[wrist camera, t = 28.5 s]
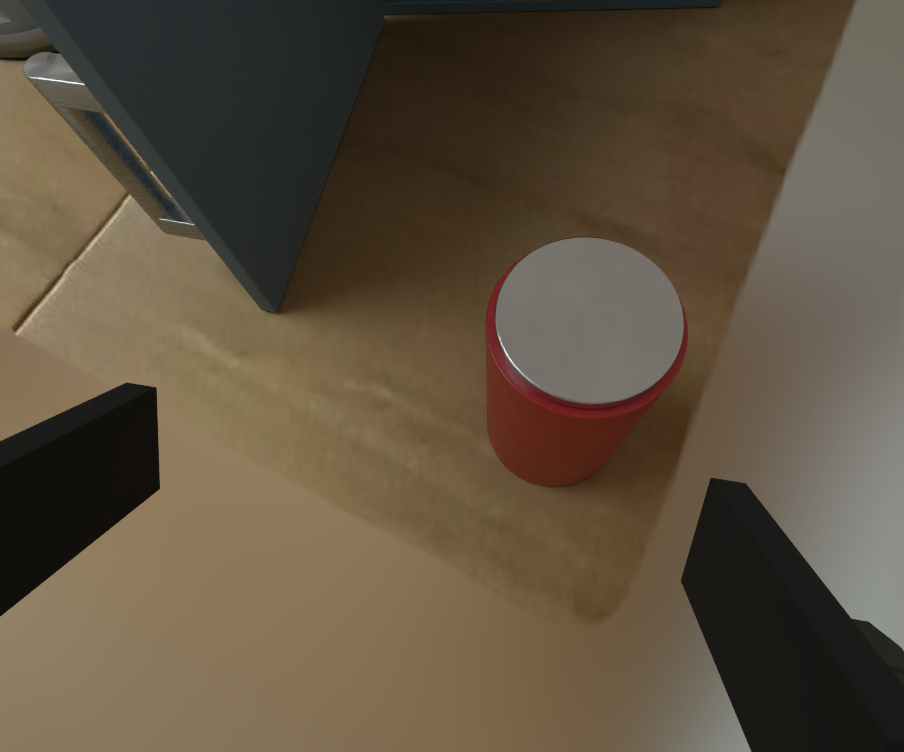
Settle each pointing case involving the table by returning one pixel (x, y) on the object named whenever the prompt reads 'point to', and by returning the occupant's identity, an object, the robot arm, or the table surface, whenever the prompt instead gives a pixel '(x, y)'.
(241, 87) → the fridge door
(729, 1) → the table surface
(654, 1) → the fridge
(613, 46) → the table surface
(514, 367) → the can
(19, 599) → the robot arm
